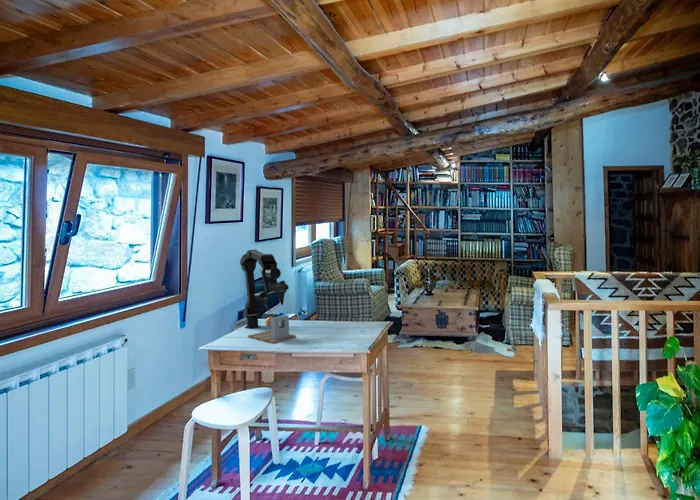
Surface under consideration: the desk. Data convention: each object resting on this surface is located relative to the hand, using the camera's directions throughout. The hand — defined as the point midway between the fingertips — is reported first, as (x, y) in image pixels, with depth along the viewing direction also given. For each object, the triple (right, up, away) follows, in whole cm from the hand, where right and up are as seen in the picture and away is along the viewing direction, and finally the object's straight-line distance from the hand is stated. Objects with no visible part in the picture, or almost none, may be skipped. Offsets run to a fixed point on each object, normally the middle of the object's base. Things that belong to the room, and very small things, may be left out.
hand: (275, 307), depth 258 cm
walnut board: (-1, -15, -4) cm, 15 cm away
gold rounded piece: (+1, -10, -6) cm, 12 cm away
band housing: (+4, -14, -9) cm, 17 cm away
